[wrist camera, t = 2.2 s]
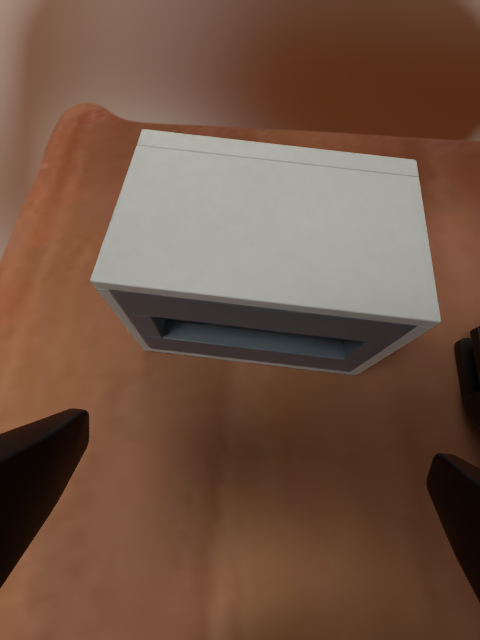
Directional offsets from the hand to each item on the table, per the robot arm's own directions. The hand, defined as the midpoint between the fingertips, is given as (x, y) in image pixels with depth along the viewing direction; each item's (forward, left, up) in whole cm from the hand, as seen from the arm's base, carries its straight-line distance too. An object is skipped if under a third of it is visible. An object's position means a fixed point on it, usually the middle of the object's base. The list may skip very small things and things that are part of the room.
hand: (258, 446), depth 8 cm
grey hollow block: (+9, +4, -11) cm, 15 cm away
